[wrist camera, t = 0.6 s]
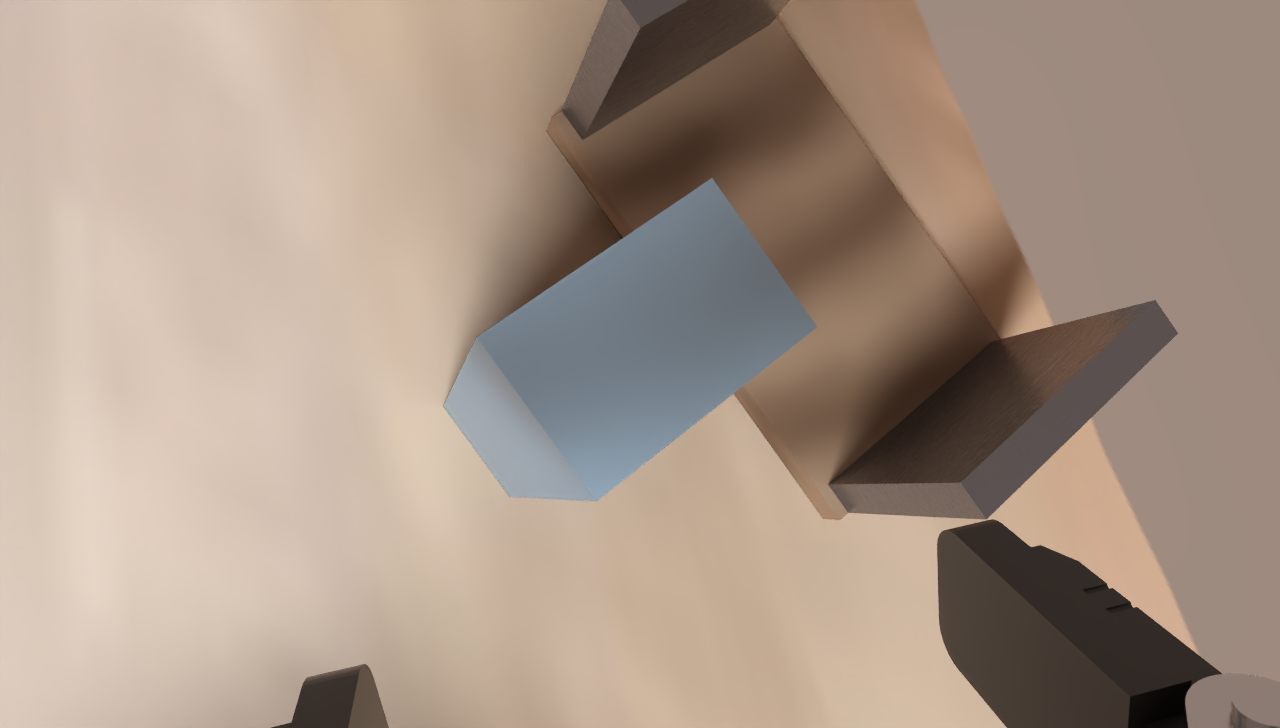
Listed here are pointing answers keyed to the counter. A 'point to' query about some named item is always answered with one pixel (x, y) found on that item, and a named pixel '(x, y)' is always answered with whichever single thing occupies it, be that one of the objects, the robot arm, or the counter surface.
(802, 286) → the book stand
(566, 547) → the counter surface
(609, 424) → the book
